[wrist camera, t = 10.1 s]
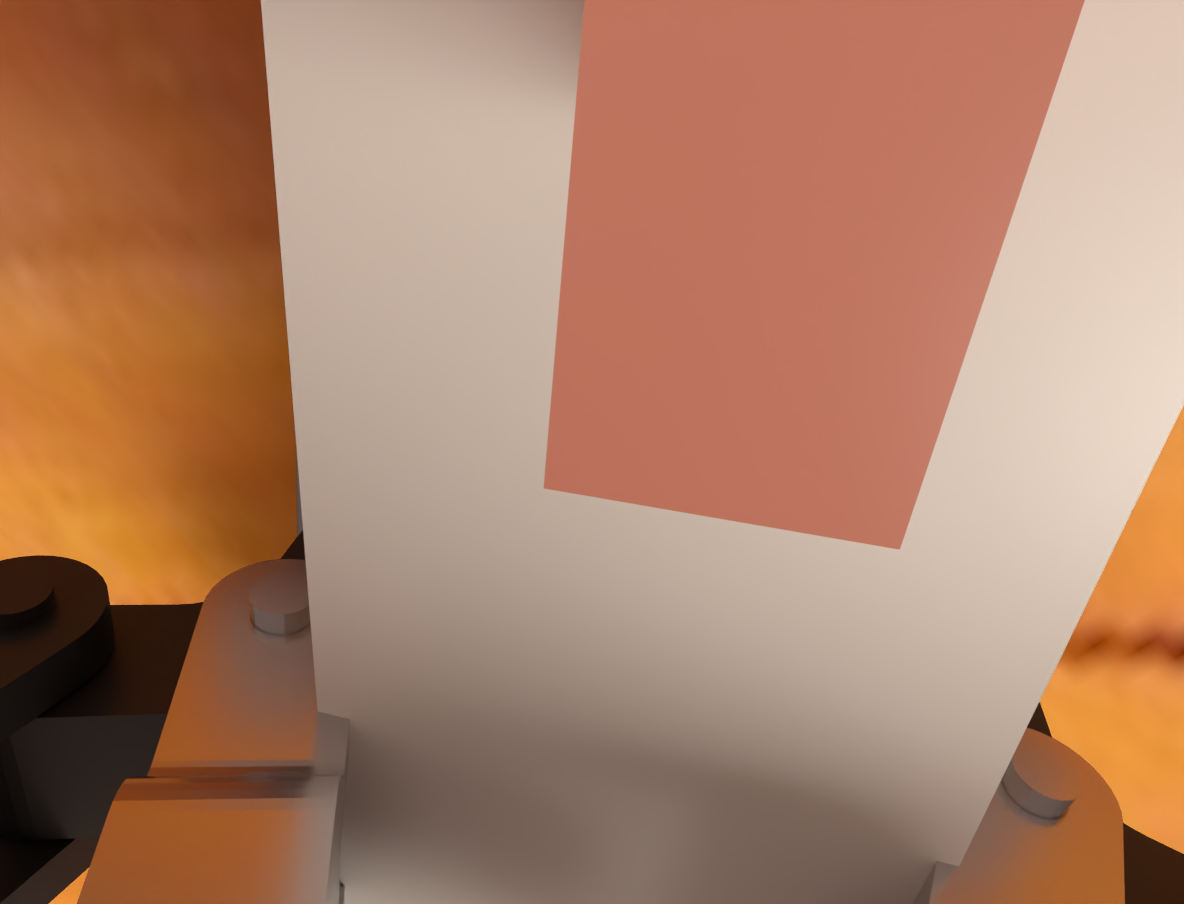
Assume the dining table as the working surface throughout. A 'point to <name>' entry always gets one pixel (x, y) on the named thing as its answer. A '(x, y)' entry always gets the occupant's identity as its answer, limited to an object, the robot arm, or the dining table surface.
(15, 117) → the dining table surface
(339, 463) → the white block with peg
